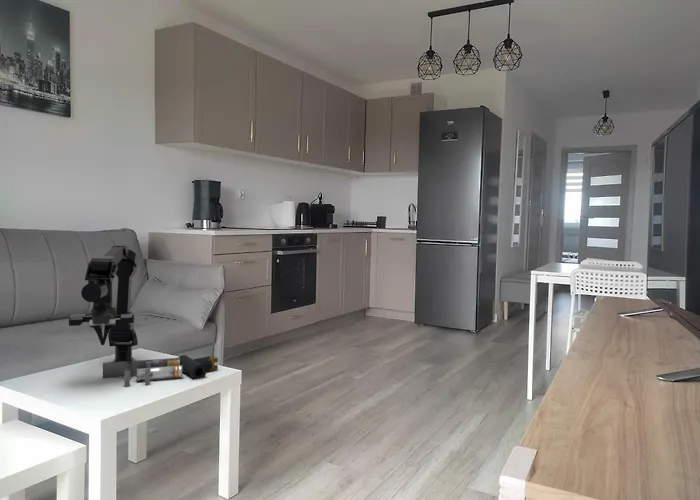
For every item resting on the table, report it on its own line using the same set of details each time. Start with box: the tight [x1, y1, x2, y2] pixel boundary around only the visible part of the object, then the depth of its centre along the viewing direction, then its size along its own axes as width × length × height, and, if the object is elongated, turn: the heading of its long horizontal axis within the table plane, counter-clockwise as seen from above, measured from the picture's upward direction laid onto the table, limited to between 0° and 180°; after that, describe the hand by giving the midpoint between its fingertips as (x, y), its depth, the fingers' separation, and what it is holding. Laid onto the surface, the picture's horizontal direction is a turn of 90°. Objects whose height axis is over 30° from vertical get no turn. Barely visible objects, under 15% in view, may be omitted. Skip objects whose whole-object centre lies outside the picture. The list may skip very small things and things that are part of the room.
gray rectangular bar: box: [102, 357, 180, 379], centre depth 169 cm, size 4×24×5 cm, turn 110°
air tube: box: [136, 365, 184, 382], centre depth 167 cm, size 14×4×4 cm, turn 112°
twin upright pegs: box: [123, 361, 151, 388], centre depth 164 cm, size 10×8×5 cm
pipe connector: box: [177, 354, 219, 380], centre depth 176 cm, size 12×5×15 cm
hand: (102, 344), depth 163 cm, fingers closed
